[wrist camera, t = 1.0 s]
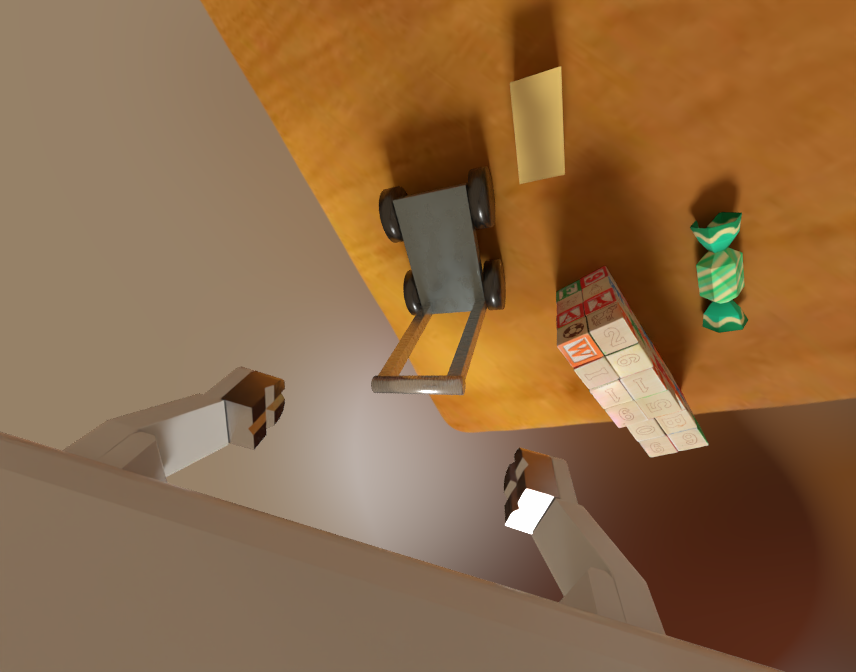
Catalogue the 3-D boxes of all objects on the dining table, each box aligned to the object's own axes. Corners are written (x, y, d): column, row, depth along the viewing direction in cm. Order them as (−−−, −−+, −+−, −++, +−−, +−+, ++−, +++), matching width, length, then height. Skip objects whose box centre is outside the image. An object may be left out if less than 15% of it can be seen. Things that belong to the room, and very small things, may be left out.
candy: (752, 314, 36) (738, 336, 34) (712, 312, 39) (698, 332, 37) (746, 207, 31) (730, 226, 30) (701, 214, 34) (685, 232, 32)
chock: (559, 71, 30) (560, 66, 26) (562, 166, 34) (564, 174, 30) (514, 85, 32) (509, 82, 28) (522, 175, 36) (519, 184, 32)
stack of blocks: (683, 390, 44) (721, 470, 34) (632, 404, 48) (654, 481, 38) (604, 263, 38) (624, 317, 29) (554, 290, 42) (556, 346, 32)
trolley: (506, 295, 44) (483, 406, 28) (425, 302, 48) (362, 402, 32) (489, 162, 36) (442, 208, 20) (393, 184, 40) (289, 237, 24)
